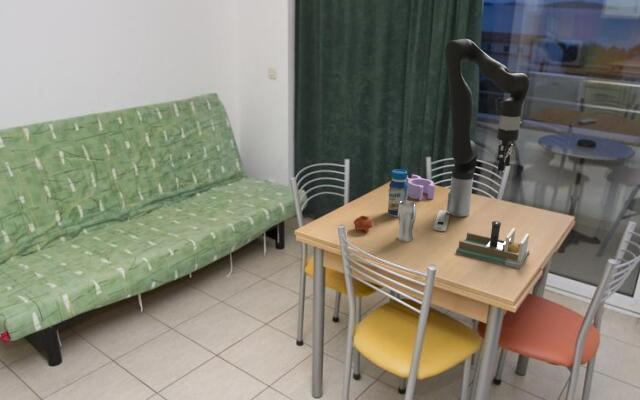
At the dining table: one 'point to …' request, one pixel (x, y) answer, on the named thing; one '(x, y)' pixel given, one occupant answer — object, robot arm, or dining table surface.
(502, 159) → the robot arm
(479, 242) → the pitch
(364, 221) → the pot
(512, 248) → the ball
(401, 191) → the beverage bottle
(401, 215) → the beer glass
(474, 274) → the dining table surface
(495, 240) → the slider
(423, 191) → the clip
